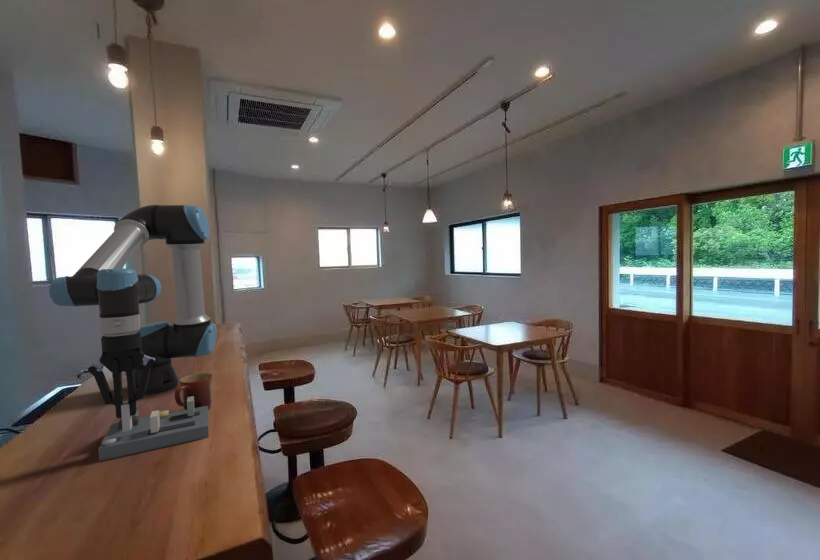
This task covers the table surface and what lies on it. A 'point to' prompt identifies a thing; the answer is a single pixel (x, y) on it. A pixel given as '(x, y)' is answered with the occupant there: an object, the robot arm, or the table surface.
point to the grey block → (190, 406)
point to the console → (141, 439)
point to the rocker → (133, 415)
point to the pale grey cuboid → (154, 421)
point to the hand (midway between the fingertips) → (127, 429)
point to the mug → (195, 390)
